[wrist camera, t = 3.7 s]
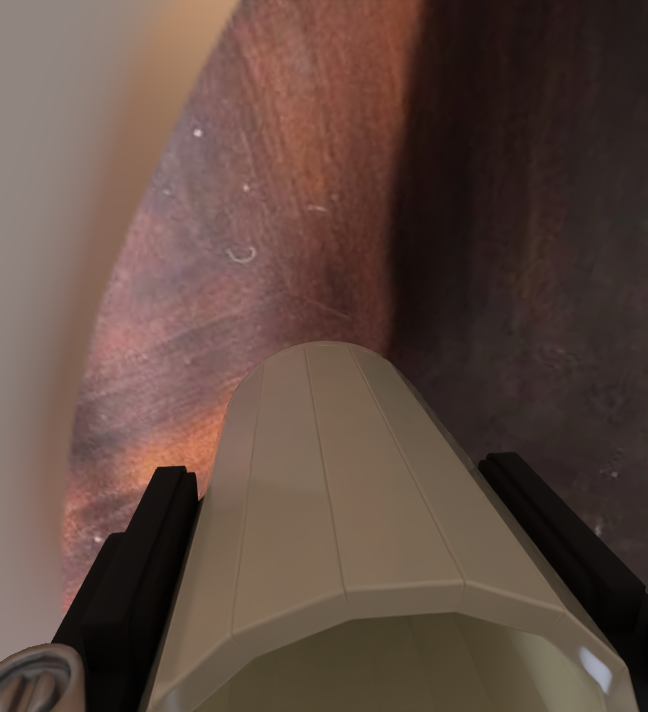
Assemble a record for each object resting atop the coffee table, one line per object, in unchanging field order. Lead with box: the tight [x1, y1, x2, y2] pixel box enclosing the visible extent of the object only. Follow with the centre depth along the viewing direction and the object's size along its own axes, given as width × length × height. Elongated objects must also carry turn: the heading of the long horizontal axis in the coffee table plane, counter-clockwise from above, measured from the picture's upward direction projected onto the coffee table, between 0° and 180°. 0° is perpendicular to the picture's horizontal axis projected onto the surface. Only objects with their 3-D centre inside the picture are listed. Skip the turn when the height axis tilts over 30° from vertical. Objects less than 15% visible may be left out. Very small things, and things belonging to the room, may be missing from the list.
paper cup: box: [137, 341, 640, 712], centre depth 10 cm, size 6×6×9 cm
